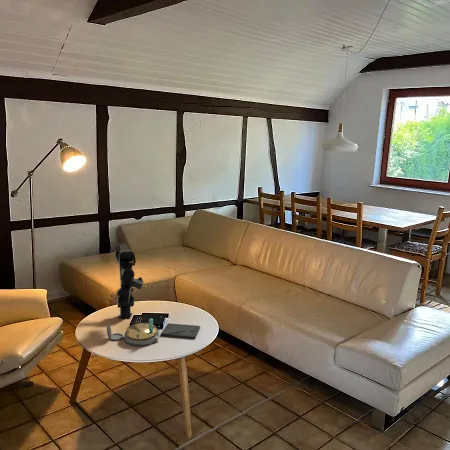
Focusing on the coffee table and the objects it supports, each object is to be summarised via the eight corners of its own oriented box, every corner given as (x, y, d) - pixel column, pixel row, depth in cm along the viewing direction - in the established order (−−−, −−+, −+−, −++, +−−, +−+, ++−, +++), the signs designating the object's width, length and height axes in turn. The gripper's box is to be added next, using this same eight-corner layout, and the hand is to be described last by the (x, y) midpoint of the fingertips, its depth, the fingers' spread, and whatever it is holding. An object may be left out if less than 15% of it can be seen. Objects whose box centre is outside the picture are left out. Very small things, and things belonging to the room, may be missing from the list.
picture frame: (160, 337, 229) (195, 340, 227) (160, 333, 229) (195, 336, 226) (167, 326, 242) (200, 329, 240) (167, 322, 242) (200, 325, 239)
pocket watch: (125, 337, 227) (125, 318, 225) (114, 343, 220) (113, 324, 218) (113, 333, 231) (113, 314, 229) (101, 339, 224) (101, 320, 222)
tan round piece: (153, 326, 235) (152, 308, 233) (159, 338, 222) (159, 319, 220) (123, 330, 230) (123, 312, 228) (128, 342, 216) (128, 324, 214)
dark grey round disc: (128, 331, 234) (128, 326, 234) (161, 331, 234) (161, 327, 234) (120, 346, 218) (120, 341, 217) (157, 346, 218) (157, 341, 217)
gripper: (138, 280, 226) (139, 309, 228) (145, 269, 244) (145, 297, 247) (116, 279, 226) (117, 309, 228) (124, 269, 244) (125, 296, 247)
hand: (127, 303), depth 238 cm, fingers closed
